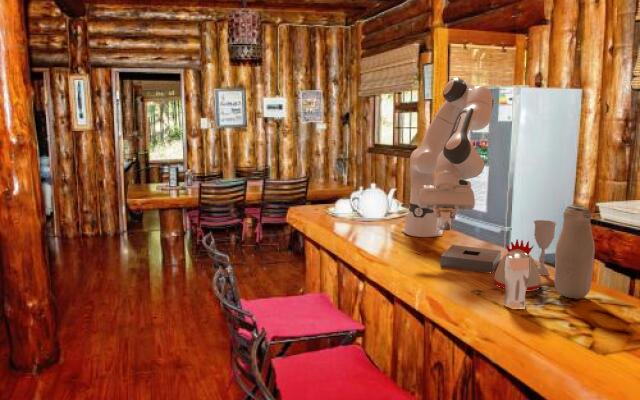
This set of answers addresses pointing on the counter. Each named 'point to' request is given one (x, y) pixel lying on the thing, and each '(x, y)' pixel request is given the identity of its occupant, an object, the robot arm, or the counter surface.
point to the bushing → (445, 218)
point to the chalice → (544, 240)
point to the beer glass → (516, 278)
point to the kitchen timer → (534, 274)
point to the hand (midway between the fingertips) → (445, 217)
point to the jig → (471, 258)
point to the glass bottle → (574, 253)
